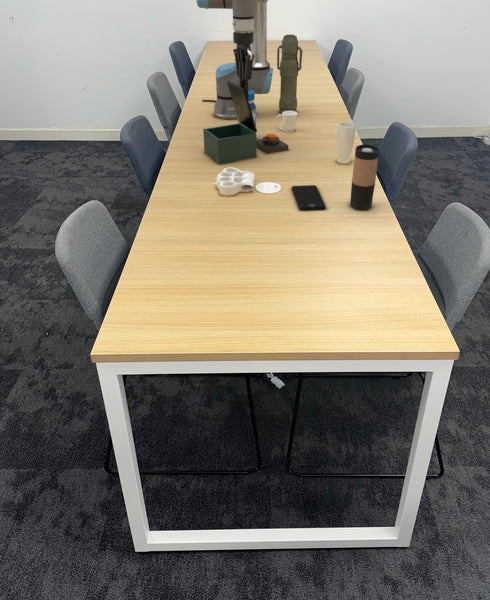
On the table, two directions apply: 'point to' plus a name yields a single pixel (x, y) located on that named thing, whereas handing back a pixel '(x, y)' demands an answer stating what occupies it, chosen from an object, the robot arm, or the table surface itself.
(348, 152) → the drinking glass
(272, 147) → the control pad
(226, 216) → the table surface
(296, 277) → the table surface
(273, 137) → the button
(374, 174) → the travel mug
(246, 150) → the green box
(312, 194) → the cell phone
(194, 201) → the table surface
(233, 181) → the white holed block
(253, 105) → the beverage bottle
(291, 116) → the cup
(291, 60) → the thermos
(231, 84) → the box lid
